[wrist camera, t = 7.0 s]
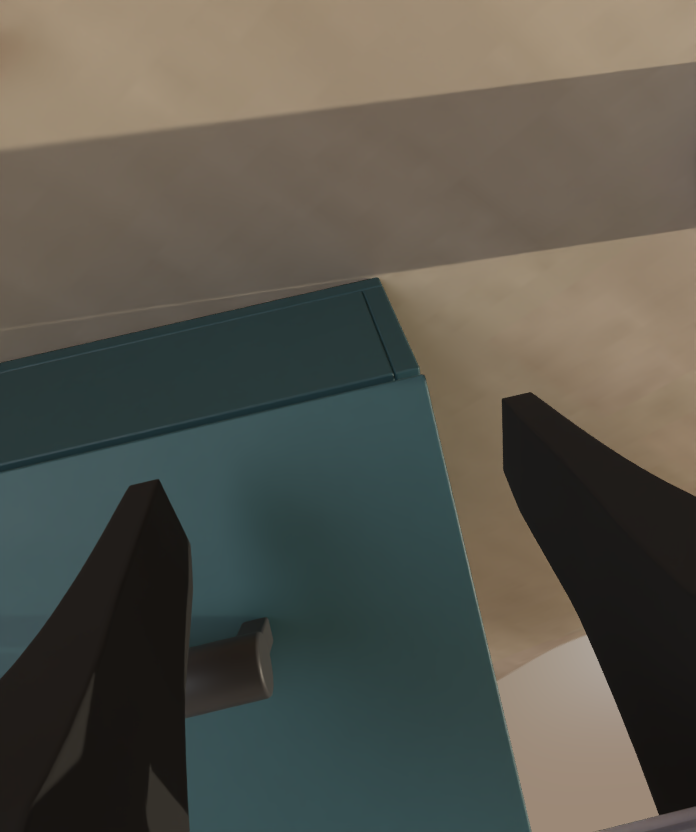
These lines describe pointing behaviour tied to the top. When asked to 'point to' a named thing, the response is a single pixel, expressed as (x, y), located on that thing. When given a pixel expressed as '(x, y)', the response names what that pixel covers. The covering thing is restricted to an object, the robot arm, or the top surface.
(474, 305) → the top surface
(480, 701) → the bin lid
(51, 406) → the bin
